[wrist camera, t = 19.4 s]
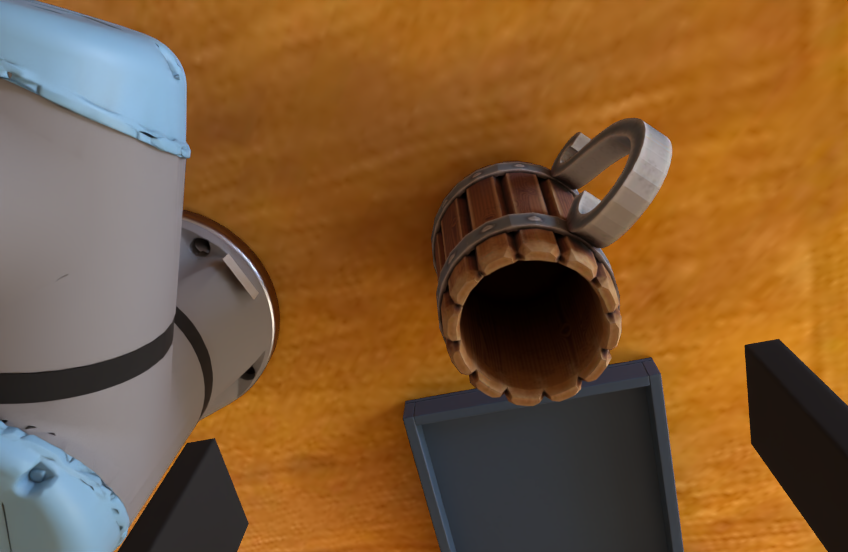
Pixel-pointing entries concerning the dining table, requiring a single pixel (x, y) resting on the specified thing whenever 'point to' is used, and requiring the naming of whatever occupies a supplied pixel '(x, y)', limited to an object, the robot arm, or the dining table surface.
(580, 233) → the mug
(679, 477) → the dining table surface
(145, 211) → the robot arm
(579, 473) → the tray
